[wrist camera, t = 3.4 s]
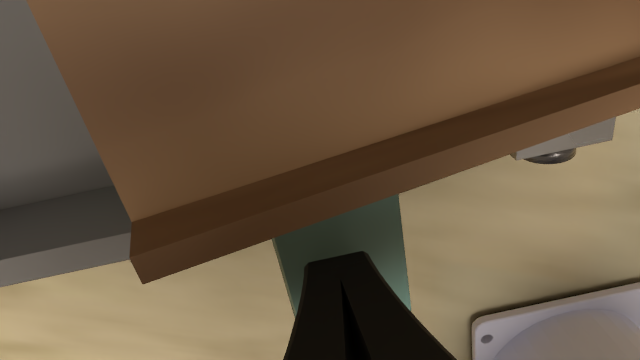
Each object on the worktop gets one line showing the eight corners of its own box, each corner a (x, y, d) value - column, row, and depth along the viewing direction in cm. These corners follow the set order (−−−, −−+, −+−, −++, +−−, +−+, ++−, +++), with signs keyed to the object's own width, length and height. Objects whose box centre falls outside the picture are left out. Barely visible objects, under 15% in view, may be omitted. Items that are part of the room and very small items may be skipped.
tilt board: (766, 142, 16) (875, 175, 13) (209, 367, 12) (224, 472, 9) (891, -226, 11) (1100, -279, 8) (11, -58, 7) (-62, -69, 4)
